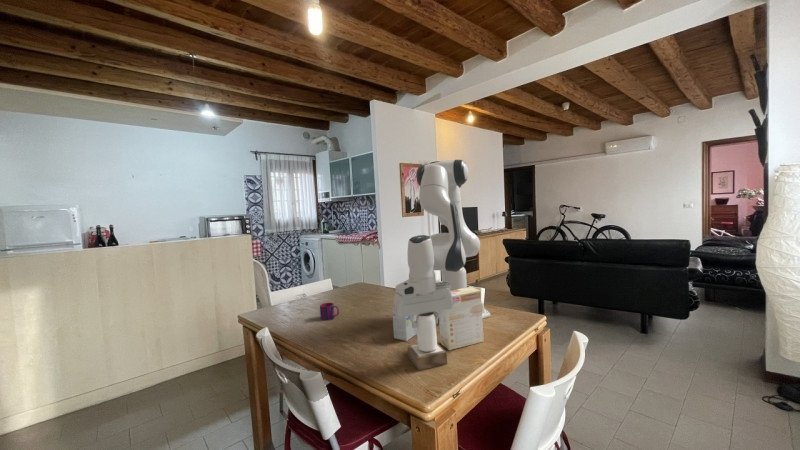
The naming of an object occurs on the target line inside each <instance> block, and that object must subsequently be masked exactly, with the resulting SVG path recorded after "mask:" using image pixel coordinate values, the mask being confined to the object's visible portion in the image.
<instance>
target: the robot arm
mask: <svg viewBox="0 0 800 450" xmlns="http://www.w3.org/2000/svg"><path fill="white" fill-rule="evenodd" d="M415 177H416V182H417V184H418V186H419V195H418V198H419V204H420V206H421V207H422V209H423V210H424V211H425V212H426V213H428V214H431V215H432V216H435V217H437V220H438V222H439V223H440V224H442V225H443V226H445V227H446V228H447V230H448V232H438V233H433V234H431V235H425V234H422V235H416V236H412V237H410V238H409V240H408V243H407V266H408V268H409V270H408V279H406V280H405V281H402V282H400V283H398V284H396V285H395V288H394V289H395V291H396V293H395V295H394V297H393V312H394V314H395V315H396V316H397V317H398V318H402V317H408V318H409V319H410V321H411V322H412V328H413V329H414V328H418V326H417V325H418V323H417V322H416V321H414V320H413V319H414V315H419V314H425V313H431V312H434V313H435V314H434V316H435V320H436V325H439V316H440V314H441V311H442V310H448V309H451V308H452V307H453V300H452V295H451V290H456V289H462V288H467V287H470V285H468V283H467V282H468V280H467V270H466V268H465V265H466V263H467V258H471V257H474V256H477V255H478V254H479V252H480V250H481V240H480V238H479V236H477V235H476V234H475V233H474V232H472V231H471V230H470V229H469V226H467V224H466V221H465V218H464V215H463V208H462V207H463V204H462V196H461V194H462V193H461V189H460V188H462V186H463V185H464V184H465V183H466V182H467V180H468V177H469V168H468V165H467V164H466V162H465V161H464V160H463V159H455V160H441V161H436V162H432V163H428V164H427V163H425V164H422V165H420V166H419V167H418V168H417V170H416V176H415ZM435 271H440V273H441V281H442V282H439V281H438V282H436V272H435ZM481 305H482V320H483V319H485V318H489V317H491V313H490V312H489V310H487V309H486V308H485V306H484V302H483V301H482V300H481ZM412 318H413V319H412Z"/></svg>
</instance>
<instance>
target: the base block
mask: <svg viewBox="0 0 800 450" xmlns="http://www.w3.org/2000/svg"><path fill="white" fill-rule="evenodd" d="M447 353H448V352H447V351H446V350H445V349H444V348H443V347H442V345H440V344H439V343H438V342H437V348H436V350H434V351H432V352H422V351H420V350H419V349H418V343H414V344H409V345H407V357H408V359H409V360H410V361H411V363H412V364H413V365H414V367H415V368H416V369H417V371H424V370H427V369H432V368H435V367H440V366H444V365H448V354H447Z"/></svg>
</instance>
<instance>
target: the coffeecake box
mask: <svg viewBox="0 0 800 450" xmlns="http://www.w3.org/2000/svg"><path fill="white" fill-rule="evenodd" d="M481 292H482V291H481V290H480V289H479V288H478V289H477V288H475V287H473V286H469V287H467V288H462V289H456V290H451V295H452V300H453V307H452V308H451V309H448V310H442V311H441V314H440V316H439V318H438V325H439V336H440V338H439V339H440V344H441V346H443V347H445V348H446V349H447V350H449V351H452V350H456V349H459V348H463V347H464V348H465V347H467V346H471V345H475V344H480V343H483V342H484V340H485V339H484V337H485V336H484V325H483V319H482V305H481V301H482V293H481Z"/></svg>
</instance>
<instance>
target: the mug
mask: <svg viewBox="0 0 800 450" xmlns="http://www.w3.org/2000/svg"><path fill="white" fill-rule="evenodd" d="M335 308H336V309H337V313H336V314H335ZM319 313H320V314H319V315H320V320H321V321H325V322H326V320H327V321H331V320H334V319H335V317H337V316H339V314H340V308H339V307H338V305H334V303H333V302H324V303H322V304H319Z"/></svg>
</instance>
